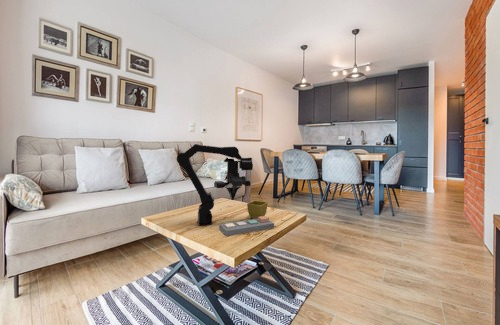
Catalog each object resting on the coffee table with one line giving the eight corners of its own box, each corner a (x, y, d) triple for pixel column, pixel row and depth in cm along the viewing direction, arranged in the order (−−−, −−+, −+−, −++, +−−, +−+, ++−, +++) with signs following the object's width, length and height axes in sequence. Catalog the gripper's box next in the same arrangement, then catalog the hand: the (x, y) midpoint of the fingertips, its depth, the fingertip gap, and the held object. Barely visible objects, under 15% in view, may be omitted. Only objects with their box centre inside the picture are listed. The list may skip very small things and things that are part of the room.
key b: (239, 231, 107) (239, 224, 107) (236, 228, 111) (236, 222, 111) (246, 229, 109) (246, 223, 109) (243, 227, 113) (243, 221, 112)
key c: (250, 229, 110) (250, 223, 110) (247, 226, 113) (247, 220, 113) (257, 228, 112) (258, 222, 111) (254, 225, 115) (254, 219, 115)
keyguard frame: (226, 236, 101) (226, 230, 101) (219, 228, 110) (219, 223, 110) (274, 228, 112) (274, 223, 112) (264, 222, 121) (264, 217, 121)
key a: (227, 233, 105) (227, 226, 104) (224, 230, 108) (224, 224, 108) (235, 231, 106) (235, 225, 106) (232, 229, 110) (232, 222, 110)
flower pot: (260, 222, 121) (260, 205, 121) (246, 219, 126) (246, 203, 125) (267, 217, 129) (268, 202, 128) (254, 215, 133) (254, 200, 133)
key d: (261, 225, 112) (261, 219, 112) (257, 222, 116) (257, 216, 116) (268, 224, 114) (268, 218, 114) (264, 221, 118) (264, 215, 117)
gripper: (220, 172, 108) (220, 205, 109) (255, 171, 116) (255, 201, 117) (213, 170, 117) (213, 200, 119) (246, 169, 126) (246, 197, 127)
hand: (232, 199), depth 120 cm, fingers closed
